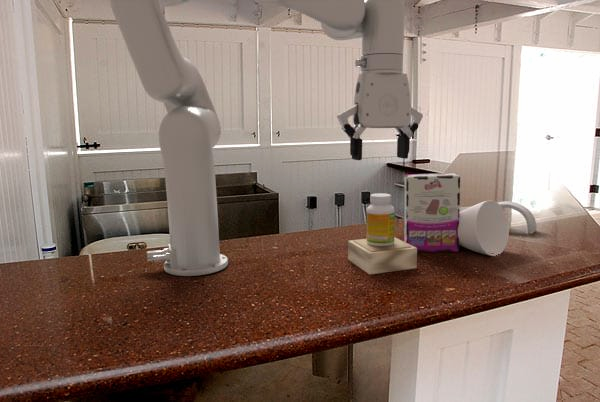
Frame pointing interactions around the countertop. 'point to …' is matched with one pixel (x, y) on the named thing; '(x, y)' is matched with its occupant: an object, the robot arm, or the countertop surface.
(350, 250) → the plinth
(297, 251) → the countertop surface
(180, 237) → the robot arm
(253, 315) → the countertop surface
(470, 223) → the rocket engine
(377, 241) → the supplement bottle
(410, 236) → the candy bar box
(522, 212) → the spoon rest
